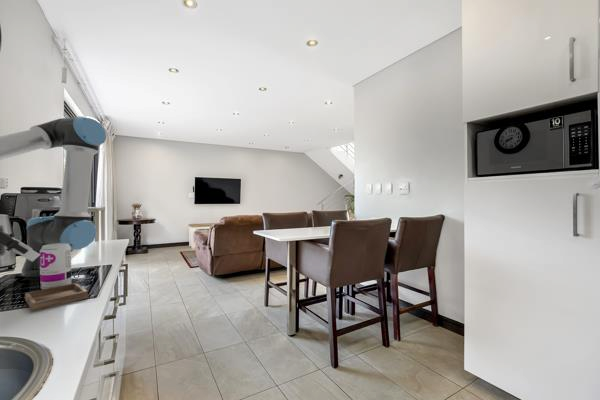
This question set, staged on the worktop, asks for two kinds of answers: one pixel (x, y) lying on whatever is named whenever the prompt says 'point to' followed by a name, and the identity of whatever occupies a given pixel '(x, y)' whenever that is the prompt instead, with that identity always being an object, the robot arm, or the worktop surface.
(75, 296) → the walnut tray
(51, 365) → the worktop surface
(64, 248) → the supplement can
